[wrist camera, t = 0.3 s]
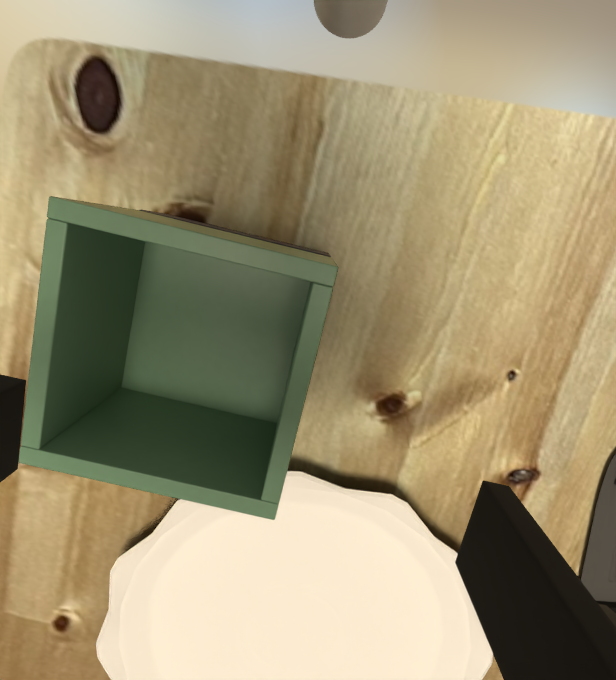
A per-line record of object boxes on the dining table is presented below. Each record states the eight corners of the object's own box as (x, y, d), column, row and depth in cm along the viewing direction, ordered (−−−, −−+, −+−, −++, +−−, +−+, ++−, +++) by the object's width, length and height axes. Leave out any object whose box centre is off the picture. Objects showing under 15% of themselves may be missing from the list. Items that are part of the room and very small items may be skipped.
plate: (149, 418, 34) (137, 431, 32) (532, 515, 35) (548, 534, 33) (86, 728, 40) (72, 759, 38) (413, 803, 41) (419, 836, 39)
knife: (609, 424, 32) (682, 429, 32) (595, 415, 34) (665, 420, 34) (547, 719, 37) (609, 723, 37) (538, 700, 39) (598, 704, 39)
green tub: (139, 210, 26) (48, 195, 17) (331, 257, 26) (338, 266, 18) (110, 393, 28) (17, 463, 19) (287, 434, 29) (274, 521, 20)
